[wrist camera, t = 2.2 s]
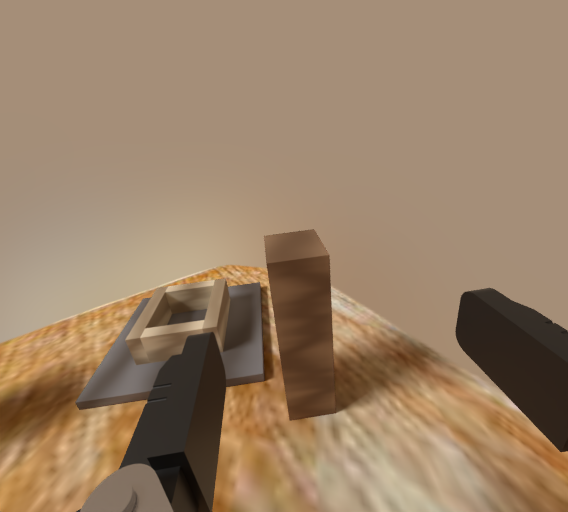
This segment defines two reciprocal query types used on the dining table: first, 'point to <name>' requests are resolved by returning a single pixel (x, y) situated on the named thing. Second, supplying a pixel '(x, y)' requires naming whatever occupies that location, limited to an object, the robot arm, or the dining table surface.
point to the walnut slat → (303, 320)
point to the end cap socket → (181, 339)
